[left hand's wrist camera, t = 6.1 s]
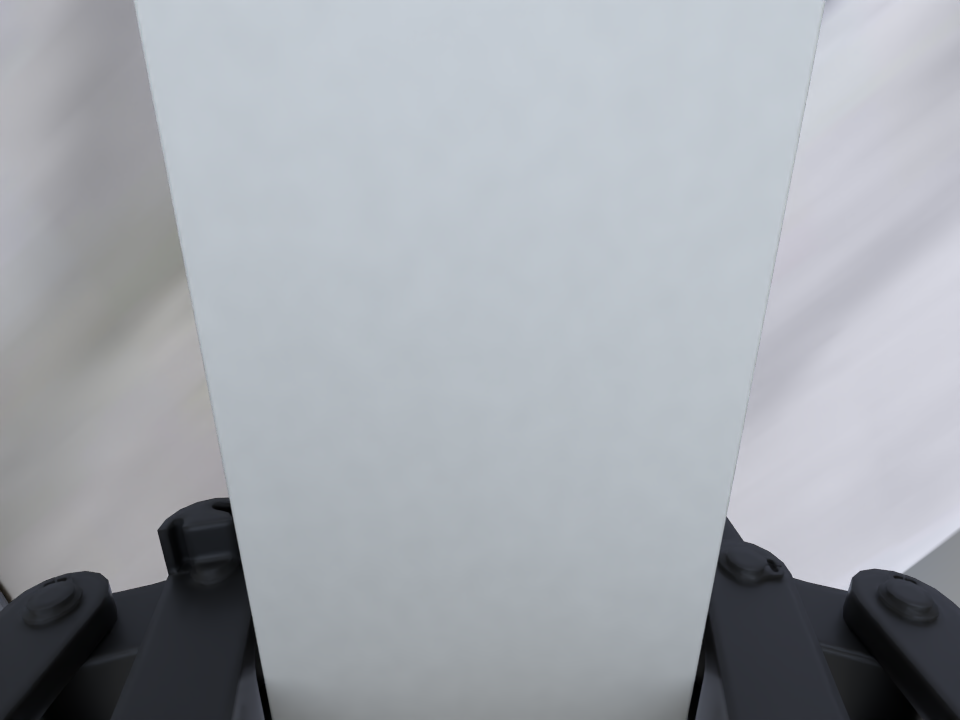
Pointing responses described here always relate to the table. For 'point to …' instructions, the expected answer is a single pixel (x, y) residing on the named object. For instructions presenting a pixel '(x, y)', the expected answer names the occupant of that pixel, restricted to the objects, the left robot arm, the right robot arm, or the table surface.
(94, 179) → the table surface
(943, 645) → the left robot arm
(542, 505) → the bar
